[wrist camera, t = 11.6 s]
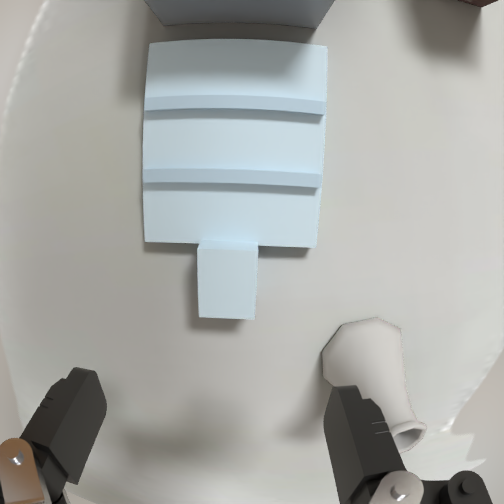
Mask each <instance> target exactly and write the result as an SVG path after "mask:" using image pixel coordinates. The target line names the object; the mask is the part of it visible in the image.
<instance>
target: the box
mask: <svg viewBox="0 0 504 504" xmlns="http://www.w3.org/2000/svg"><path fill="white" fill-rule="evenodd" d="M458 1H462V2H465V3H469V4H472V5H476V6H479V7H484V6H486V5H488V4H491V3H493V2H496V1H498V0H458Z"/></svg>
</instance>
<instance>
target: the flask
mask: <svg viewBox="0 0 504 504" xmlns="http://www.w3.org/2000/svg"><path fill="white" fill-rule="evenodd" d="M322 357H323V377H324V378H325V379H326V380H327V381H328V382H329V383H331V384H332V385H333V386H348V385H356V386H357V387H358V389H359V391H360V394H361V396H362V399H368V398H371V399H372V400H373V401H374V402H375V403H376V404H377V405H378V406H379V407H380V408H381V410H382V413H383V415H384V417H385V420H386V421H385V422H387V425H388V427H389V429H390V430H389V432H391V434H392V437H393V439H394V442H395V444H396V447H397V449H398V451H399V454H400V453H403V452H406V451H409V450H410V449H411V448H413V447H414V446H415V445H416V444H417V443H418V442H420V441H421V440H422V439H423V437H424V434H425V432H426V429H427V426H426V425H425V424H424V423H422V422H419V421H418V420H417V418H416V416H415V414H414V412H413V410H412V407H411V403H410V399H409V395H408V392H407V386H406V376H405V366H404V356H403V344H402V334H401V329H400V328H398V327H396V326H394V325H392V324H390V323H388V322H386V321H384V320H382V319H380V318H378V317H375V318H370V319H365V320H361V321H356V322H351V323H346V324H343V325H342V326H341V327H340V329H339V330H338V331H337V333H336V334H335V335H334V337H333V338H332V339H331V341H330V342H329V343H328V344H327V346H326V347H325V348H324V350H323V351H322Z"/></svg>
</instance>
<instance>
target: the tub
mask: <svg viewBox="0 0 504 504" xmlns="http://www.w3.org/2000/svg"><path fill="white" fill-rule="evenodd" d="M144 1H145V2H146V3H147V4H148V6H149V7H150V8H151V10H152V11H153V12H154V14H155V15H156V16H157V18H158V19H159V20H160V22H161V23H162V24H163V26H166V25H177V24H192V23H219V22H237V23H264V24H279V25H290V26H299V27H307V28H315V29H317V27H318V26H319V24H320V23H321V21H322V19H323V18H324V16H325V15H326V13H327V11H328V10H329V8H330V7H331V5H332V4H333V2H334V1H335V0H144Z"/></svg>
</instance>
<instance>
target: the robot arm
mask: <svg viewBox="0 0 504 504" xmlns="http://www.w3.org/2000/svg"><path fill="white" fill-rule="evenodd" d="M106 411H107V403H106V399H105V396H104V393H103V390H102V388H101V385H100V382H99V379H98V376H97V373H96V372H95V371H92V370H87V369H82V368H78V367H75V368H73V369H72V371H71V372H70V374H69V375H68V377H67V378H66V379H63V378H62V379H60V380H59V381H58V382H56V383H55V384H54V385H52V386H51V388H50V389H49V391H48V392H47V394H46V396H45V399H43V400H42V402H41V403H40V407H38V408H37V410H36V412H35V413H34V415H33V416H32V418H31V420H30V421H29V423H28V425H27V426H26V428H25V430H24V431H23V433H22V435H21V436H20V437H19V438H11V439H8V440H6V441H4V442H3V443H2V444H1V445H0V504H70V501H69V499H68V496H67V493H66V491H65V489H64V486H65V483H66V481H67V482H70V483H73V484H76V485H78V482H79V479H80V477H81V474H82V472H83V469H84V466H85V464H86V461H87V459H88V456H89V454H90V451H91V449H92V446H93V444H94V442H95V439H96V437H97V434H98V432H99V430H100V427H101V425H102V423H103V420H104V418H105V415H106ZM385 421H386V420H385V417H384V415H383V413H382V410H381V408H380V407H379V406H378V405H377V404H376V403H375V402H374V401H373V400H372V399H371V398H368V399H362V396H361V394H360V391H359V389H358V387H357V386H356V385H348V386H334V387H333V389H332V392H331V395H330V398H329V402H328V405H327V408H326V411H325V415H324V433H325V437H326V442H327V446H328V450H329V455H330V459H331V464H332V468H333V473H334V478H335V482H336V487H337V492H338V496H339V501H340V504H493V503H492V501H491V499H490V496H489V494H488V491H487V489H486V486H485V484H484V482H483V480H482V478H481V477H480V476H479V475H478V474H476V473H475V472H472V471H461V472H458V473H456V474H455V475H454V476H453V477H452V478H451V479H450V480H444V481H425V480H420V479H419V477H418V476H416V475H415V474H413V473H411V472H408V471H407V470H406V468H405V466H404V464H403V462H402V459H401V457H400V454H399V451H398V449H397V447H396V444H395V442H394V439H393V437H392V434H391V432H389V430H390V429H389V427H388V425H387V422H385Z"/></svg>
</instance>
